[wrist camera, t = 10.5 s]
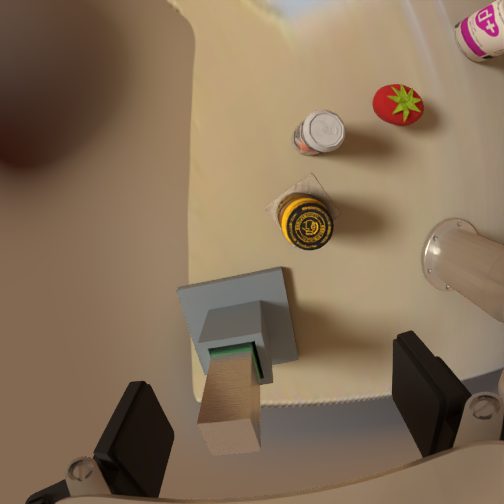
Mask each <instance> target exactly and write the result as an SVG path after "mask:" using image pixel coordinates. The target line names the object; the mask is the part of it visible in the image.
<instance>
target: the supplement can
mask: <svg viewBox="0 0 504 504" xmlns="http://www.w3.org/2000/svg"><path fill="white" fill-rule="evenodd" d="M454 37H455V40H456V43H457V45H458V47H459V48H460V50H461V51H462V52H463V53H464V54H465V55H466V56H467V57H468V58H470V59H471V60H473V61H476V62H482V61H485V60H488V59H490V58H493V57H496V56H499V55H501V54H504V0H497V1H495V2H493V3H491V4H490V5H488V6H486V7H484V8H483V9H481V10H479V11H477V12H476V13H474V14H472V15H471V16H469V17H467V18H466V19H464V20H462V21H461V22H459V23H458V24H456V25H455V28H454Z"/></svg>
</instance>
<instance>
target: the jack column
mask: <svg viewBox="0 0 504 504" xmlns="http://www.w3.org/2000/svg"><path fill="white" fill-rule="evenodd" d="M210 356H211V360H210V365H209V369H208V374H207V378H206V383H205V388H204V392H203V397H202V401H201V406H200V411H199V415H198V420H197V426H198V428H199V430H200V432H201V434H202V436H203V438H204V440H205V442H206V444H207V446H208V448H209V450H210V452H211V454H212V455H226V454H237V453H247V452H256V451H261V418H260V417H261V414H260V382H261V376H260V360H259V356H258V352H257V348H256V344H255V341H252V342H246V343H240V344H234V345H228V346H222V347H216V348H213V351H211V355H210Z"/></svg>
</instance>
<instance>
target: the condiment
mask: <svg viewBox="0 0 504 504" xmlns="http://www.w3.org/2000/svg"><path fill="white" fill-rule="evenodd" d="M305 193H311V194H305ZM264 208H265V209H266V211H267V212H268V213H269V215H270V216H271V217H272V219H273V220H274V221H275V223H276V224H277V226H278V227H279V228H280V230H281V231H282V232H283V234H284V235H285V237H286V239H287V240H288V241H289V242H290V243H291V245H292V246H293V247H295V246H297V247H299V248H301V249H303V250H315V249H319V248H321V247H322V246H324V245H325V244H326V243H327V242H328V241H329V240H330V238H331V236H332V232H333V227H334V224H333V219H334V218H336V217H337V216H338V215H340V213H339V211H338V210H337V209H336V207H335V206H334V204H333V203H332V201H331V200H330V198H329V197H328V195H327V194H326V193H325V191H324V190H323V188H322V187H321V185H320V184H319V183H318V181H317V180H316V178H315V177H314V175H313V174H312V173H311V174H310V175H308V176H307V177H306V178H304V179H303V180H301V181H300V182H299V183H297V184H296V185H295V186H293V187H292V188H290V189H289V190H287V191H286V192H285V193H283V194H282V195H281V196H279V197H278V198H276V199H275V200H274V201H272V202H271V203H270V204H268V205H267V206H266V207H264Z"/></svg>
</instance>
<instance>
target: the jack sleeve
mask: <svg viewBox="0 0 504 504" xmlns="http://www.w3.org/2000/svg"><path fill="white" fill-rule="evenodd" d="M176 291H177V294H178V297H179V300H180V303H181V307H182V310H183V313H184V316H185V319H186V322H187V325H188V328H189V331H190V334H191V337H192V340H193V343H194V346H195V349H196V352H197V354H198V357H199V360H200V363H201V366H202V368H203V371H204V374H205V375H207V374H208V369H209V365H210V360H211V356H210V355H211V351H213V348H216V347H222V346H228V345H234V344H240V343H246V342H252V341H255V344H256V348H257V352H258V356H259V360H260V376H261V382H260V385H263V384H269V383H273V373H272V365H274V364H280V363H285V362H290V361H295V360H299V359H298V353H297V348H296V342H295V337H294V331H293V326H292V321H291V316H290V310H289V305H288V300H287V295H286V290H285V284H284V279H283V274H282V269H281V267H276V268H271V269H267V270H262V271H257V272H252V273H247V274H242V275H237V276H232V277H227V278H222V279H217V280H212V281H207V282H202V283H197V284H191V285H186V286H181V287H178V289H177V290H176Z"/></svg>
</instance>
